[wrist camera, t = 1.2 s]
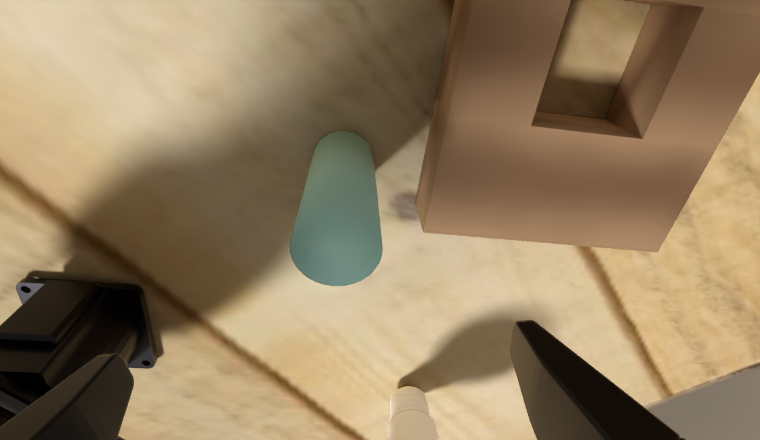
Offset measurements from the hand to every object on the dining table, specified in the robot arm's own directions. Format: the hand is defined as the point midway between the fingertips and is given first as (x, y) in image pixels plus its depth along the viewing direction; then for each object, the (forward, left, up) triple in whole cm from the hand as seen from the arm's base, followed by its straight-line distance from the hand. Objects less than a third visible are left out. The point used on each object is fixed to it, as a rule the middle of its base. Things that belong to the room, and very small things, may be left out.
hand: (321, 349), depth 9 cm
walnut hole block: (+6, -10, -12) cm, 17 cm away
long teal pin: (0, 0, -12) cm, 12 cm away
